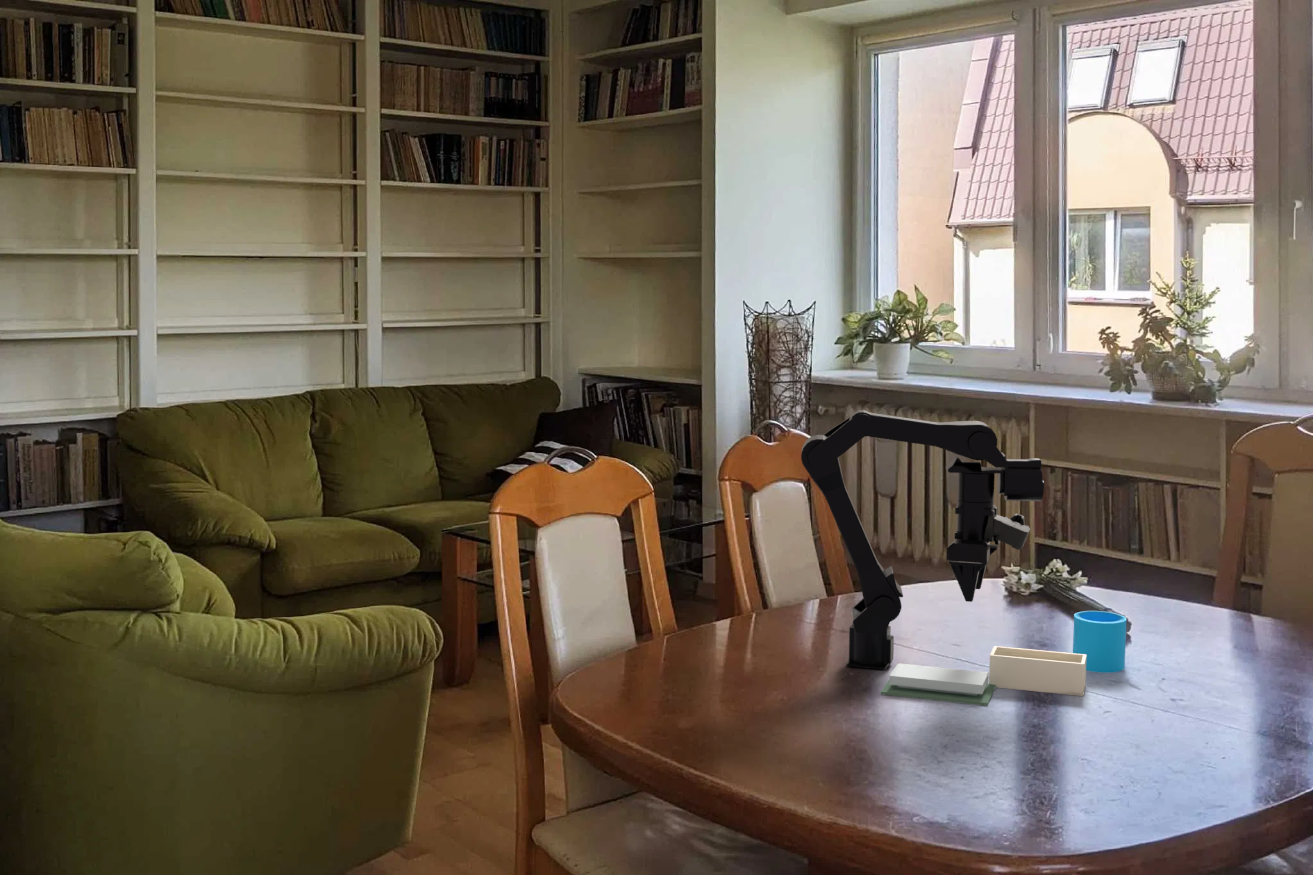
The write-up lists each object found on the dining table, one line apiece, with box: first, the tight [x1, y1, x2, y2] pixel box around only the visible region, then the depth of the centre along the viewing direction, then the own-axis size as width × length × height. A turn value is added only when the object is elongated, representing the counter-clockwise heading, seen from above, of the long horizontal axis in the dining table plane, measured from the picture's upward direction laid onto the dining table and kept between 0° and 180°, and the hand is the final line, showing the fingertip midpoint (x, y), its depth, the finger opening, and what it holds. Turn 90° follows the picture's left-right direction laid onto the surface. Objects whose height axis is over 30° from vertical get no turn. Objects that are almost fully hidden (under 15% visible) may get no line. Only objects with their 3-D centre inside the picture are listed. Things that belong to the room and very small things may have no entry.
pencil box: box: [988, 645, 1087, 697], centre depth 208 cm, size 14×6×5 cm, turn 69°
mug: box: [1072, 610, 1127, 674], centre depth 221 cm, size 12×8×8 cm
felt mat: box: [880, 679, 997, 707], centre depth 207 cm, size 16×10×1 cm, turn 69°
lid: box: [888, 662, 989, 696], centre depth 207 cm, size 14×7×2 cm, turn 69°
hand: (973, 595), depth 218 cm, fingers open, 9 cm apart
